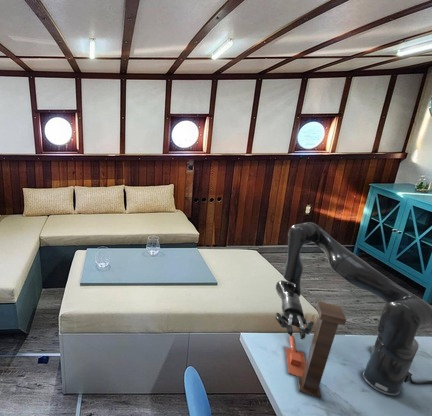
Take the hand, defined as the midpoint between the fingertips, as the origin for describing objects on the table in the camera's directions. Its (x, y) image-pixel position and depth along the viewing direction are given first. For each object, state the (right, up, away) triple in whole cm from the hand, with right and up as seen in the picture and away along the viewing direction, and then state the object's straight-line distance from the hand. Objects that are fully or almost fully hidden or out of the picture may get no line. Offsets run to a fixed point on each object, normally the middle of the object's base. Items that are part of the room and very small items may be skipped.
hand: (296, 335), depth 109 cm
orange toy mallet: (0, -7, +2) cm, 7 cm away
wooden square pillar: (-4, -12, -12) cm, 18 cm away
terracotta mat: (-2, -9, -3) cm, 10 cm away
